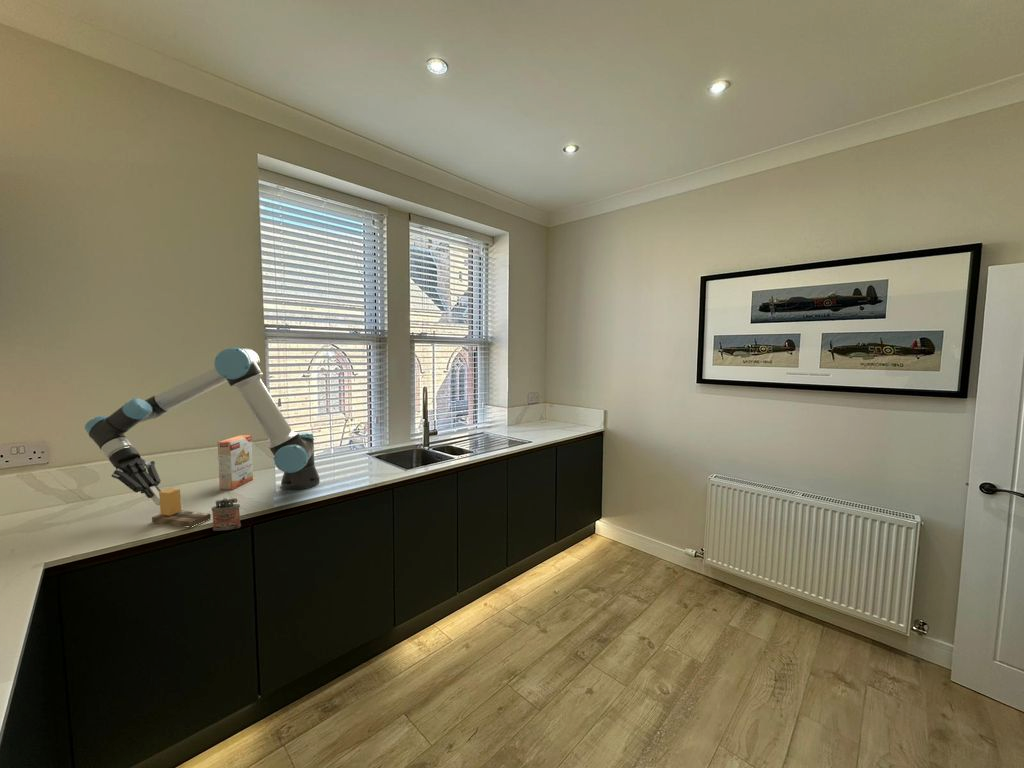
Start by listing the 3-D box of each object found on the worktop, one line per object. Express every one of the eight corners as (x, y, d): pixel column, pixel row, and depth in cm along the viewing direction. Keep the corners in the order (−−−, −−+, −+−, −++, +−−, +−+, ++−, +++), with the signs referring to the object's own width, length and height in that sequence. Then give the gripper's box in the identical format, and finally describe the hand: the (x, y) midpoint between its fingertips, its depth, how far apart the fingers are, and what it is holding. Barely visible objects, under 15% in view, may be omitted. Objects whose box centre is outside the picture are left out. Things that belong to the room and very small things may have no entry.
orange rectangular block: (160, 514, 142) (159, 492, 142) (172, 510, 146) (170, 488, 145) (169, 515, 141) (168, 493, 141) (181, 511, 145) (179, 489, 145)
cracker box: (233, 490, 174) (230, 441, 172) (219, 490, 174) (216, 441, 172) (254, 479, 188) (252, 434, 186) (241, 479, 188) (239, 434, 186)
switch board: (152, 522, 142) (151, 516, 141) (172, 514, 148) (172, 509, 148) (191, 527, 138) (190, 521, 138) (210, 519, 145) (210, 513, 144)
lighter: (211, 531, 135) (209, 502, 134) (215, 527, 138) (213, 498, 138) (238, 528, 137) (237, 499, 136) (242, 524, 141) (240, 496, 140)
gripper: (136, 455, 153) (174, 502, 151) (94, 465, 141) (135, 516, 139) (146, 442, 152) (185, 489, 149) (104, 450, 139) (146, 502, 137)
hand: (161, 502), depth 144 cm, fingers closed
